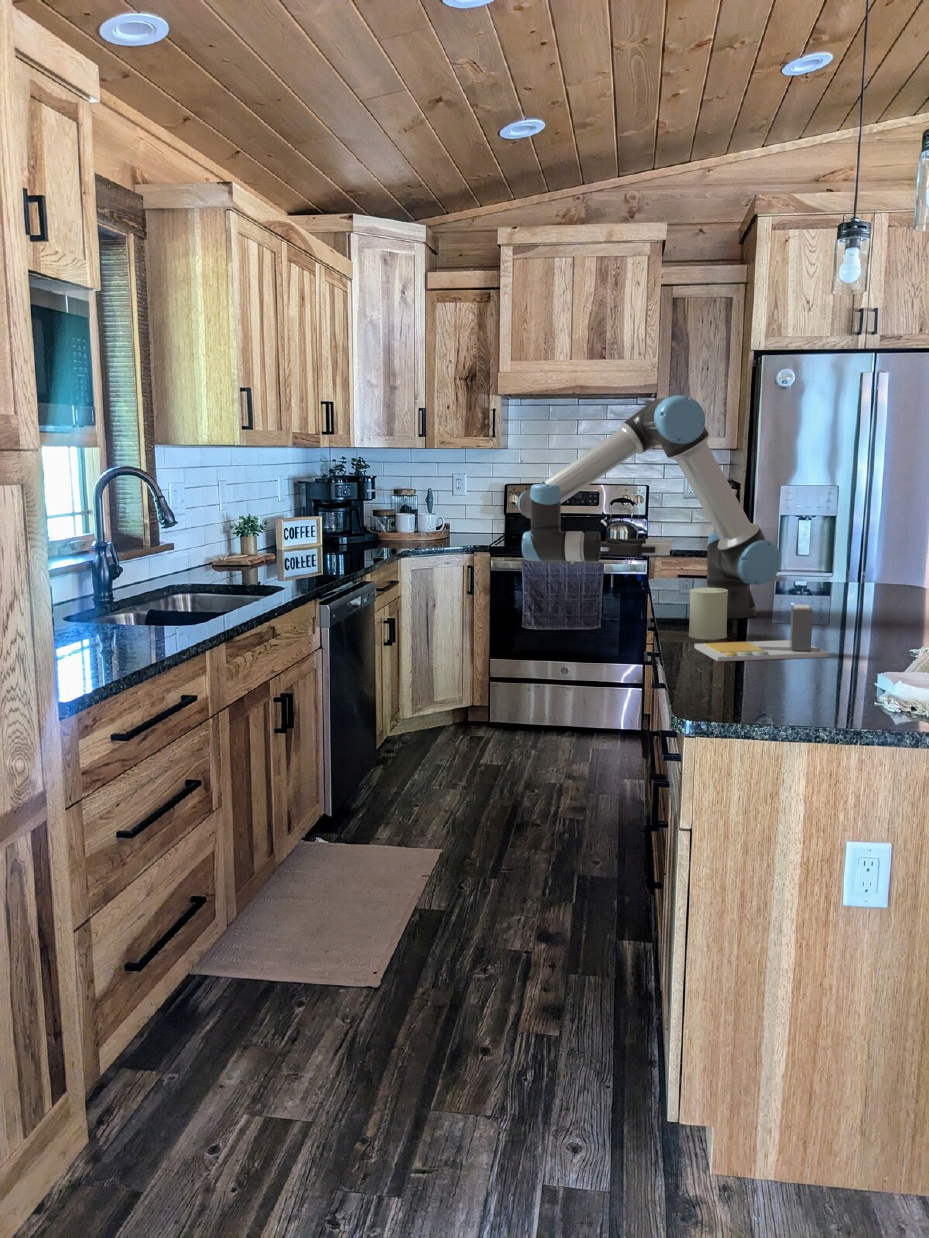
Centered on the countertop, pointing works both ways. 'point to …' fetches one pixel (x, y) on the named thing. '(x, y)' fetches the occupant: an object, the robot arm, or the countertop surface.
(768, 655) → the panel
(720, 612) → the can
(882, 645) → the countertop surface
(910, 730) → the countertop surface
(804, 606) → the grey upright block
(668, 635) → the countertop surface
